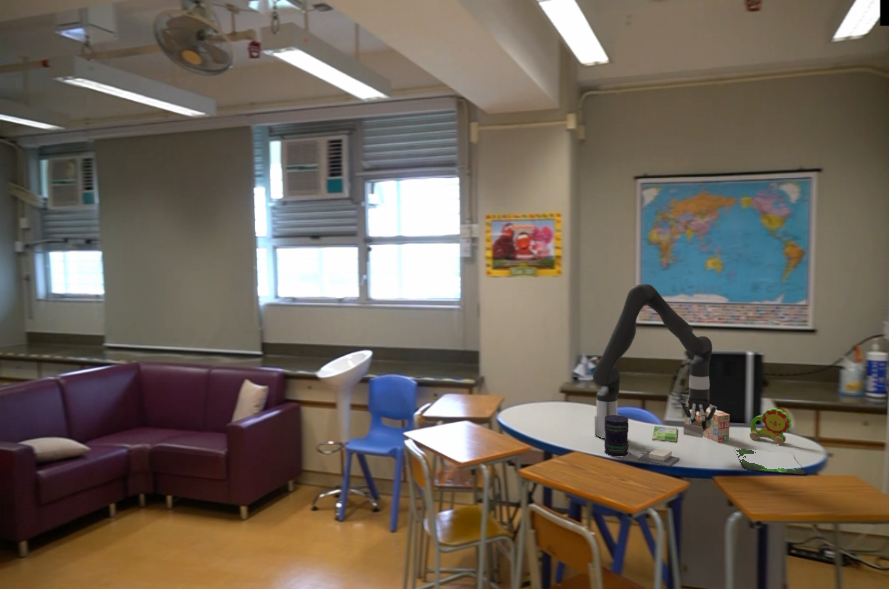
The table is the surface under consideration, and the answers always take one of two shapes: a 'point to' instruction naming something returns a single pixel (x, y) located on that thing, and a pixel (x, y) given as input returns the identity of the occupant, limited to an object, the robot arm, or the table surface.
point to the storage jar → (616, 435)
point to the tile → (660, 454)
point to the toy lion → (772, 426)
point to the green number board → (665, 434)
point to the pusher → (696, 428)
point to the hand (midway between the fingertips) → (698, 428)
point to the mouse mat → (761, 468)
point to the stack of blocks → (715, 426)
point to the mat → (667, 462)
